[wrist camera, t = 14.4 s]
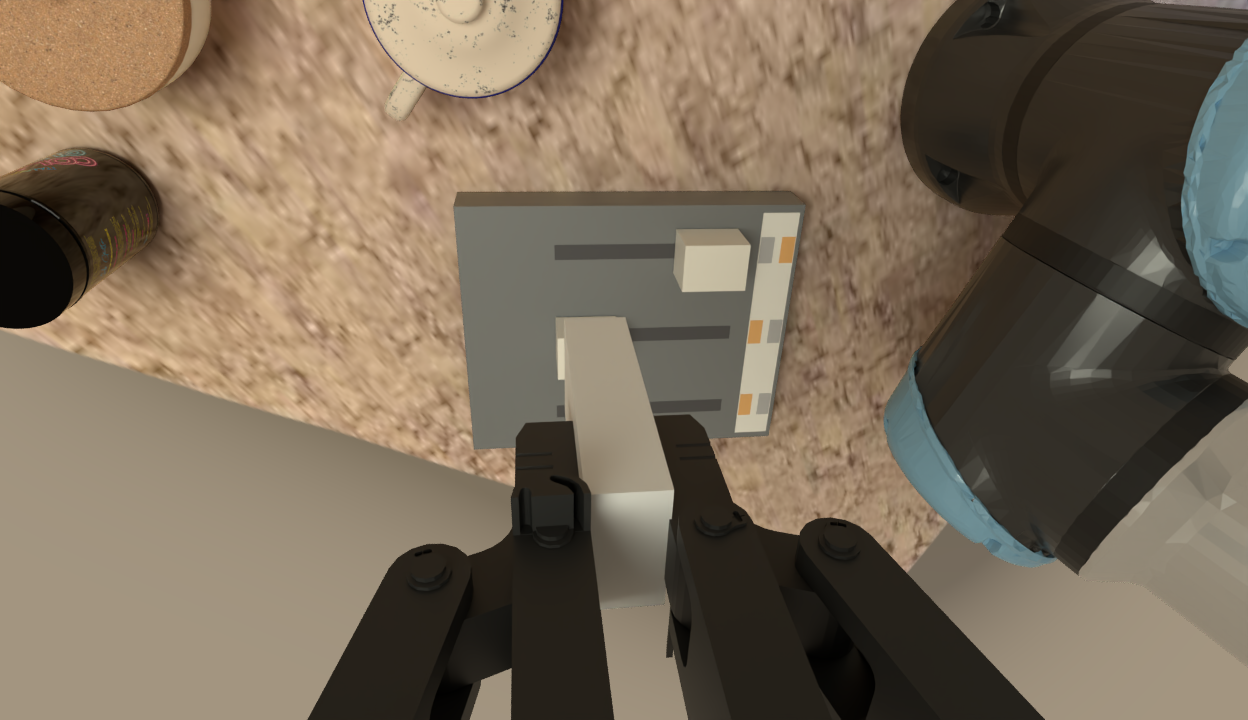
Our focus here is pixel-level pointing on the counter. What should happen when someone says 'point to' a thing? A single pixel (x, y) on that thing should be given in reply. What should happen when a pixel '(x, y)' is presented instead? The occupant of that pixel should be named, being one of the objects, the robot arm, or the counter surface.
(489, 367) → the switch panel
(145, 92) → the lidded jar
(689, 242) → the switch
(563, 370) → the middle switch
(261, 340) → the counter surface
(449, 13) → the teacup with lid
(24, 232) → the supplement container
